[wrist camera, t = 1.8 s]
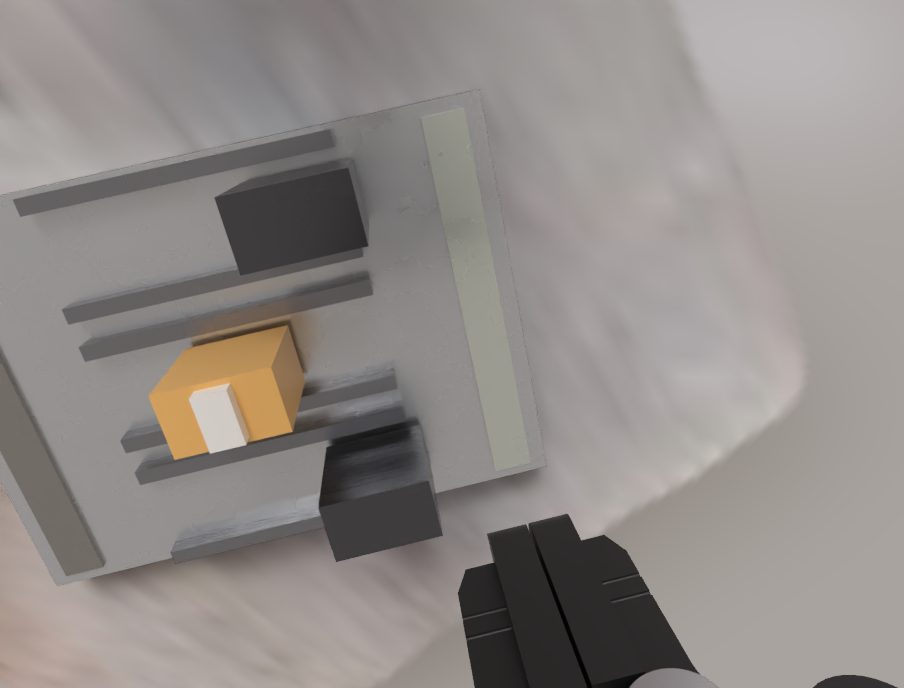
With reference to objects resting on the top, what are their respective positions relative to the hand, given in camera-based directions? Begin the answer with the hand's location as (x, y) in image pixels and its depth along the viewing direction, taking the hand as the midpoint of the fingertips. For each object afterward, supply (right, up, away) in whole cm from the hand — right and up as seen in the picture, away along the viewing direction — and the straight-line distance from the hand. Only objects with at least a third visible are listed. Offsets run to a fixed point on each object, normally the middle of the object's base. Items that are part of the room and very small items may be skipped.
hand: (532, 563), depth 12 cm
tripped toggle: (-9, +3, +14) cm, 17 cm away
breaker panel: (-10, +4, +16) cm, 19 cm away
